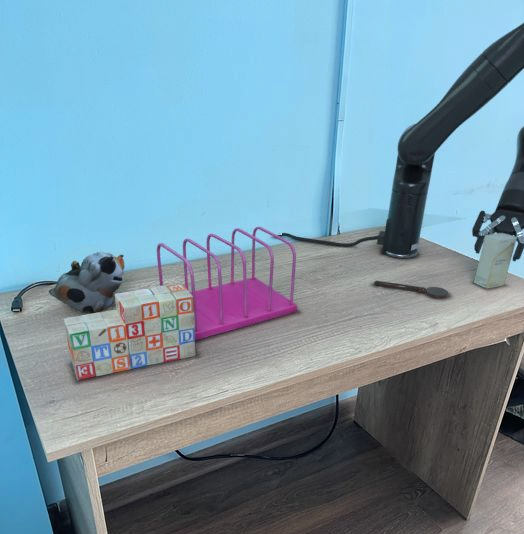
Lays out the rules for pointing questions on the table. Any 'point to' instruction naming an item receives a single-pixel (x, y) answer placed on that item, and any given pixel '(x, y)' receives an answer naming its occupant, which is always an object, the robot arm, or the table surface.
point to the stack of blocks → (133, 332)
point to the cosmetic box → (495, 260)
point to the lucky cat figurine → (90, 282)
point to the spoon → (416, 289)
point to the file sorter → (234, 291)
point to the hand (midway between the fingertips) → (495, 255)
